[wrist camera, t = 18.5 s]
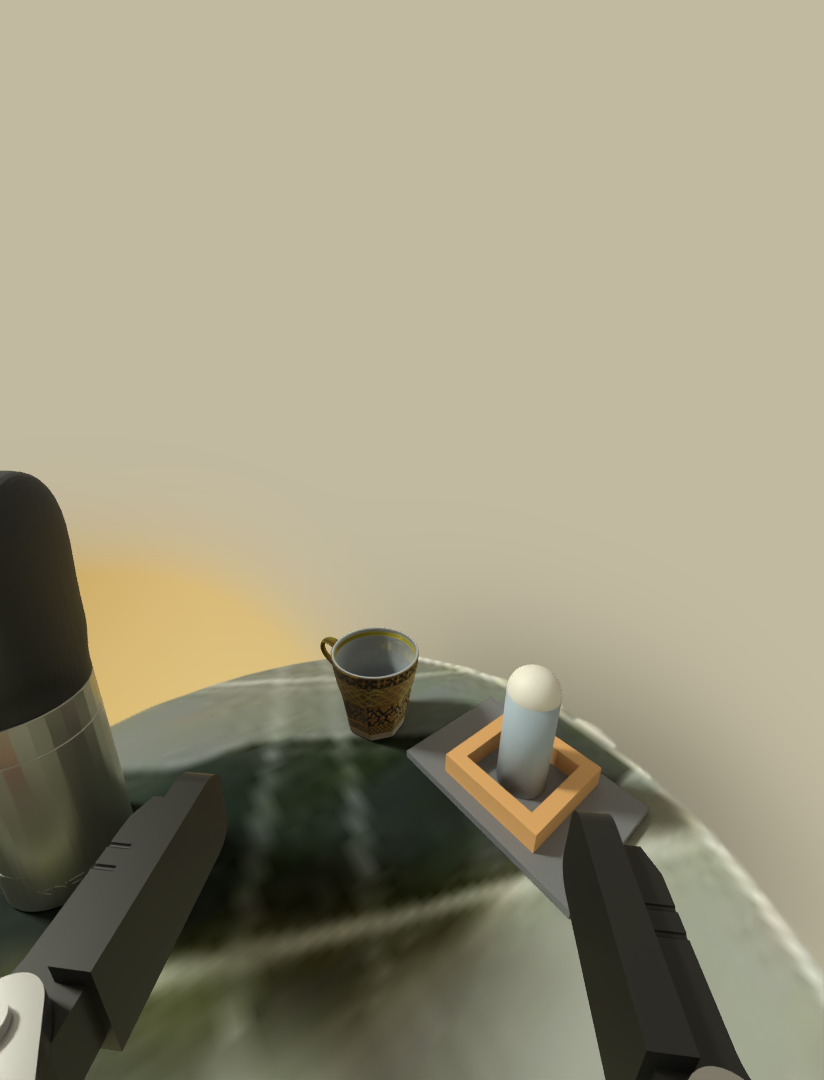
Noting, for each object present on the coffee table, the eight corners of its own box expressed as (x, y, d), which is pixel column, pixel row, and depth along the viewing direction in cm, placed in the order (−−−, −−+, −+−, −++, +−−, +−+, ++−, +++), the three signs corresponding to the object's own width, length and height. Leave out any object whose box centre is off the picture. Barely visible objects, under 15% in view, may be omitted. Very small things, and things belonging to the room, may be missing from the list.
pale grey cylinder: (486, 775, 45) (498, 668, 40) (515, 749, 49) (529, 647, 44) (527, 809, 42) (546, 697, 37) (555, 779, 45) (576, 672, 40)
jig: (406, 756, 49) (407, 735, 48) (490, 701, 57) (492, 682, 56) (568, 918, 34) (574, 893, 33) (647, 813, 43) (654, 790, 42)
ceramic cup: (430, 709, 55) (433, 641, 52) (388, 766, 47) (388, 690, 44) (347, 676, 61) (345, 613, 58) (297, 721, 53) (291, 651, 50)
